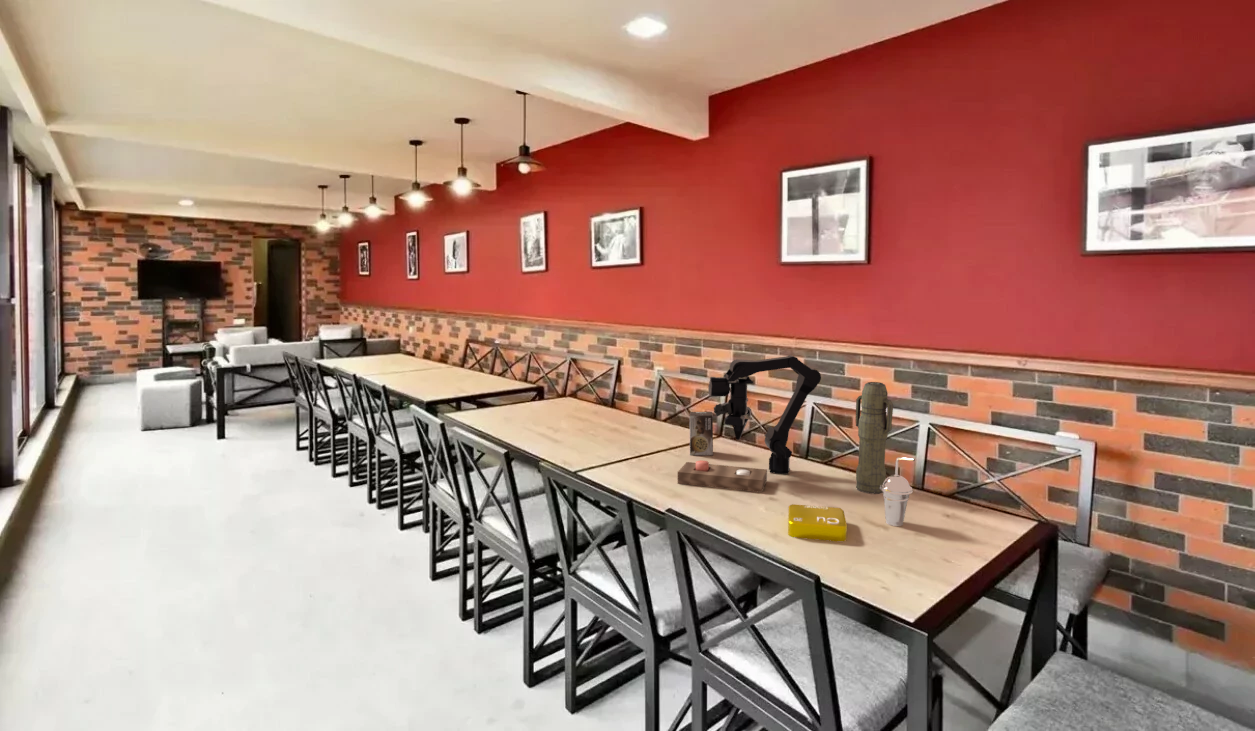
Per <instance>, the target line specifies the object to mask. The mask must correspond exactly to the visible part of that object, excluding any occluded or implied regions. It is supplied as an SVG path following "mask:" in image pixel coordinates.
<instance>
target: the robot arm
mask: <svg viewBox="0 0 1255 731" xmlns="http://www.w3.org/2000/svg"><path fill="white" fill-rule="evenodd" d="M784 369H791V371H793V372H794V373H795V374H797V379H796V384H795V389H794V391H793V393H792V395H791V397H790V399H789V401H788V403H787V405H786V407H785V409H784V411H783V412H782V415H781V417H780V419H779V420H778V422H777V424H775V426H774V427H772V426H770V425H769V427H768V429H767V431H766V433H765V434H764V437H765V438H764V444H765V446H766V447H767V448H768V449H769V450H770V452H771V453H770V456H769V458H768V470H769V473H770V474H779V475H780V474H781V475H789V473H790V471H791V468H790V462H791V461H790V459H791V456H792V454H793V452H792V450H790V448H789V447H787V443H788V440H789V433H790V429H791V428H792V426H793V423H794V422H795V420H796V417H797V416H798V414H799V412H800V410H801V409H802V407H803V405H804V403H805V401H806V399H807V397H808V395H809V394H810V393H812V392H813V391H814V390H815V389H816V388H817V386H819V384H820V383H821V380H822V375H821V372H820V371H819V370H817V369H814V368H812V367H809V366H807V364H805V363H804V362H802V361H801V360H800V359H798V357H797V356H794V355H792V354H791V355H786V356H780V357H779V356H778V357H772V358H765V359H757V360H756V359H755V360H753V359H752V360H751V359H741V358H740V359H738V358H737V359H734V360H732V361H731V362H730V364H729V369H728V370H727V371H726V372H725V374H724V375H723V377H722V376H720V377H719V376H718V377H716V376H710V377H709V382H708V395H709V397H716V398H717V397H727V395H729V394H730V397H729V399H728V401H727V402H724V403H718V404H715V405H714V407H713V413H714V414H715V416H716V417H719V416H721V415H724V414H727V416H725V418H724V425H727V426H732V428H733V431H734V436H735V439H736V441H740V440H741V437H742V435H743V432H744V431H745V428H746V426H747V423H748V421H749V418H745V416H746V415H748V417H751V415H752V408H751V407H750V406H747V405H748V401H749V397H748V384H749V385H751V384H754V381H753V380H752V379H751V377H750V376H753V375H754V374H757V373H761V372H767V371H768V372H769V371H777V370H784Z"/></svg>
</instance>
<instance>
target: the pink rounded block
mask: <svg viewBox="0 0 1255 731" xmlns="http://www.w3.org/2000/svg"><path fill="white" fill-rule="evenodd" d="M695 463H696V471H706V472H708V471H709V464H710V462H709V461H708V460H696V461H695Z"/></svg>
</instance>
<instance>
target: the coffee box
mask: <svg viewBox="0 0 1255 731" xmlns="http://www.w3.org/2000/svg"><path fill="white" fill-rule="evenodd" d="M689 456H714V415H713V411H690V412H689Z"/></svg>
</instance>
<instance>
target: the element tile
mask: <svg viewBox="0 0 1255 731" xmlns="http://www.w3.org/2000/svg"><path fill="white" fill-rule="evenodd" d="M787 516H788V518H787V520H788V521H787V535H788V536H789V537H792V538H794V537H797V538H796V539H804V538H807V540H815V539H819V540H818V541H826V540H829V541H828V542H837V541H843V542H846V541H847V535H848V534H847V533H848V524H847V520H846V516H845V512H844V510H843V509H842V508H841V507H832V506H820V505H808V504H807V505H806V504H794V503H792V504H790V505H789V506H788V515H787ZM830 540H831V541H830ZM845 540H846V541H845Z"/></svg>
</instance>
